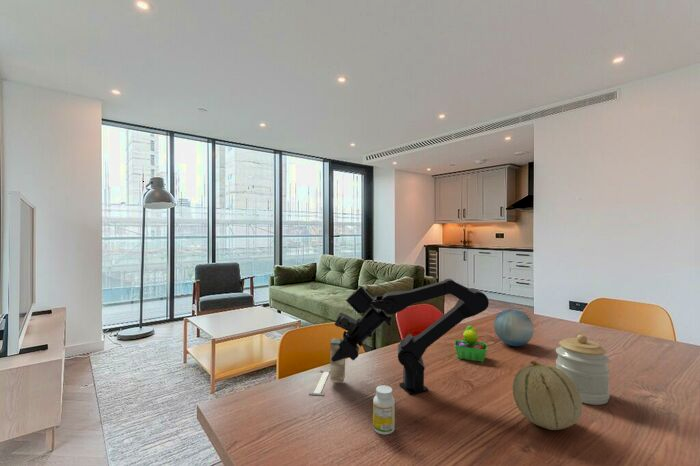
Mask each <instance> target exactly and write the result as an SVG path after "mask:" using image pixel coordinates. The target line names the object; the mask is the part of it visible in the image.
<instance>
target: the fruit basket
mask: <svg viewBox="0 0 700 466" xmlns="http://www.w3.org/2000/svg"><path fill="white" fill-rule="evenodd" d="M462 335H463V340H461V339H456V340H455V342H454V348H455V351H456V355H457V359H461V360H467V361H469V360H470V361H474V362H482V363H484V361H485V357H486V354H487V353H488V352H487V351H488V343H486V342H482V341H481V342H479V341H478V340H479V336H478V333H477V330H476V328H475V327H473V325H467V326H466V328H465V329H464V332H463V334H462Z"/></svg>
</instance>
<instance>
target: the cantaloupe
mask: <svg viewBox="0 0 700 466" xmlns="http://www.w3.org/2000/svg"><path fill="white" fill-rule="evenodd" d="M511 385H512V394H513V395H512V396H513V399H514V402H515V405H516V407H517V408H518V410H519V412H520V414H521V415H522V416H524V418H526V419H527V420H528V421H529V422H531V423H532V424H534V425H536V426H538V427H541V428H544V429H547V430H549V431H551V430H552V431H555V430H556V431H557V430H563V429H566V428H570V427H572V426H573V425H575V424H576V423H577V422H578V421H579V419H580V418H581V414H582V411H583V403H582V401H581V397H580V394H579V391H578V390H577V388H576V386H575V385H574V383H573V382H572V380H571V379H570V378H569V377H568V376H567V375H566V374H565V373H564V372H563V371H561V370H560V369H558V368H556V366H553V365H551V364H550V365H549V364H543V363H539V362H537V361H534V360H532V361H530V365H527V366H526V365H525V366H524V367H523V368H521V369H519V370H518V372H517V373H516V374H515V376H514V378H513V380H512V384H511Z"/></svg>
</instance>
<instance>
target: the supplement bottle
mask: <svg viewBox="0 0 700 466" xmlns="http://www.w3.org/2000/svg"><path fill="white" fill-rule="evenodd" d="M393 395H394V394H393V388H392V387H390V386H388V385H383V384H382V385H378V386H377V387H376V388H375V396H374V397H373V401H372V405H373V406H372V427H373V430H374V432H376V433H377V434H380V435H382V436H383V435H390V434H393V433H394V432H395V430H396V400H395V398H394V396H393Z"/></svg>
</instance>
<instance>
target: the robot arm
mask: <svg viewBox="0 0 700 466" xmlns="http://www.w3.org/2000/svg"><path fill="white" fill-rule="evenodd" d="M447 295H451V296H454V297H455V298H457V299H458V300H457V302H456V304H455V305H454V306H453V307H452V308H451V309H450V310H447V312H446V313H445V314H443V315H442V316H440V317H439V318H438V319H437V320H436V321H434V322H433V323H432V324H431V325H429V326H428V327H427V328H425V329H423V331H422V332H420V333H419V334H417V335H412V333H410V332H409V333H408V334H407V335H406V336H405V337H404V338H402V339H400V340H399V344H398V345H397V350H396V351H397V361H398V362H399V364H400V365H402V366H403V370H402V371H403V373H402V375H403V380H402V381H403V382H399V387H400V388H402V389H403V390H404V391H405V392H407V393H408V394H409V395H414V394H418V393H420V394H421V393H424V392H427V391H429V388H428V387H427V386H425V369H426V367H425V364H424V359H423V355H424V354H425V352H426V351H427V349H428V348H429V347H430V346H432V345H433V344H434V343H435V342H436V341H438V340H439V339H440V338H442V337H443V336H445V335H446V334H447V333H448V332H449V331H450V330H452V329H454V328H455V327H456V326H457V325H458V324H460V323H461V322H463V321H464V320H465V319H469V318H471V317H475V316H477V315H479V314H481V313H483V312H484V311H486V309H487V308H489V298H488V297H487V296H488V295H486V294H485V293H484V292H482V291H480V290H479V289H477V288H471V287H470V288H468V287H466V286H464V285H462V284H460V283H458V282H456V281H455V280H454V279H452V278H445V279H443V280H442V281H437V282H434V283H430V284H427V285H423V286H419V287H416V288H414V289H413V288H412V289H409V290H395V291H388V292H387V291H386V292H385V293H384V294H383V295H376V296H375V295H374V296H372V295H370V293H369V292H368V291H367V290H366V289H365V287H363V285H360V287H358V288H357V289H356V290H354V291H353V292H352V293H351V294H350V295H348V297H347V298H346V299H345V302H346V303H347V304H348V305H349V306H350V307H351V308H352V309H353V310H354V311H355V312H356V313H357V314H364V315H363V316H362V317H358V318H357V319H355V318H353V317H351V316H349V315H347V314H346V313H343V312H339V314H338V316H337V317H336V320H335V322H334V325H335V327H338V328H340V329H343V330H344V331H343V333H342V338H340V339H341V340H340V342H339V349H338V350H337V352H336V353H335V354H334V356H333V357H332V359H331V360H332V361H333V362H335V361H338V360H341V359H345V360H346V359H348V358H349V359H350V360H351V361H355V360H356V359H357V358H358V357H359V355H360V348H361V347H362V346H363V345H364V342H366V341H367V339H369V338H371V337H373V334H374V333H375V332H376V331H377V330H378V329H379V328H380V327H381V326H382V325H383V324H384V323H385V324H387V326H388V327H391V326H392V319H393V318H392V315H395V314H398V313H399V312H401V311H403V310H405V309H407V308H408V307H410V306H412V305H414V304H418V303H421V302H425V301H428V300H432V299H435V298H438V297H442V296H447Z"/></svg>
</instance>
